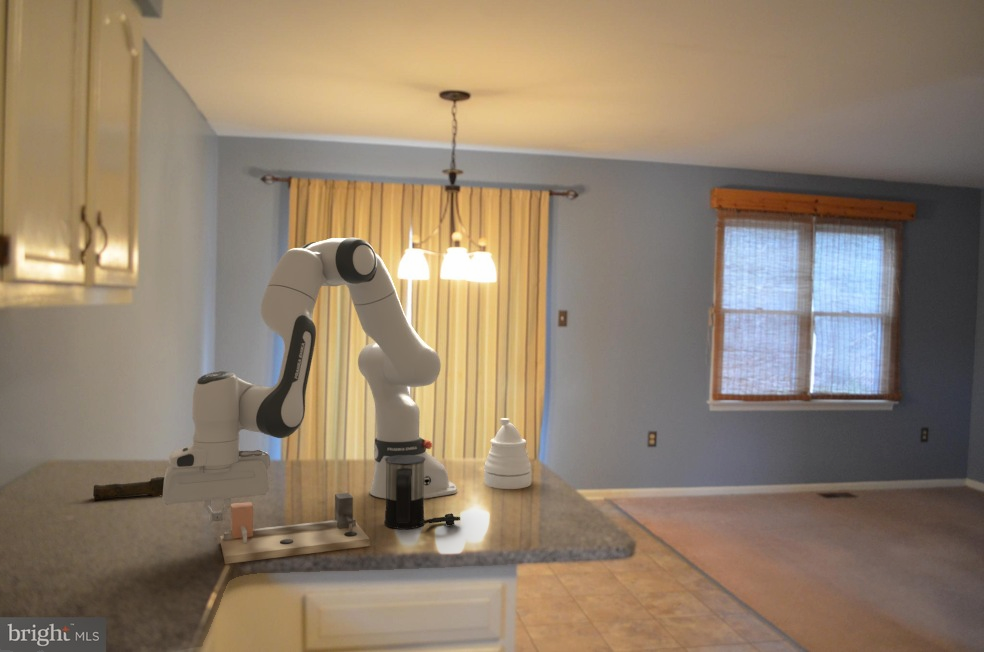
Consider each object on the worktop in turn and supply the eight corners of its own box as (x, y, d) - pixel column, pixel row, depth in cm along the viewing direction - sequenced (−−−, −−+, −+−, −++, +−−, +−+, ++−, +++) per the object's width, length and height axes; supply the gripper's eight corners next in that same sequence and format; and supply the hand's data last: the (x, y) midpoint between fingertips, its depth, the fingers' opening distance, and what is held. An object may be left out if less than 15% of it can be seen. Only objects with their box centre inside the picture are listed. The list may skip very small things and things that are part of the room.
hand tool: (92, 503, 184) (92, 484, 184) (94, 498, 188) (94, 480, 187) (176, 497, 190) (176, 478, 190) (177, 493, 194) (177, 475, 194)
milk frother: (379, 519, 173) (380, 455, 172) (445, 513, 179) (446, 450, 178) (395, 538, 160) (395, 469, 159) (465, 531, 165) (466, 464, 165)
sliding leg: (250, 530, 158) (250, 501, 157) (255, 544, 149) (255, 513, 149) (230, 533, 156) (230, 503, 156) (234, 546, 148) (234, 516, 147)
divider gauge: (354, 527, 167) (354, 491, 166) (369, 545, 155) (369, 507, 154) (220, 542, 156) (220, 504, 155) (225, 564, 144) (224, 522, 143)
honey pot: (516, 491, 199) (517, 423, 198) (475, 484, 205) (476, 418, 204) (539, 481, 209) (540, 417, 209) (499, 475, 216) (500, 412, 215)
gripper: (268, 446, 159) (268, 510, 160) (162, 453, 151) (162, 521, 152) (271, 452, 153) (272, 519, 154) (162, 460, 145) (162, 531, 146)
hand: (217, 520), depth 153 cm, fingers closed
